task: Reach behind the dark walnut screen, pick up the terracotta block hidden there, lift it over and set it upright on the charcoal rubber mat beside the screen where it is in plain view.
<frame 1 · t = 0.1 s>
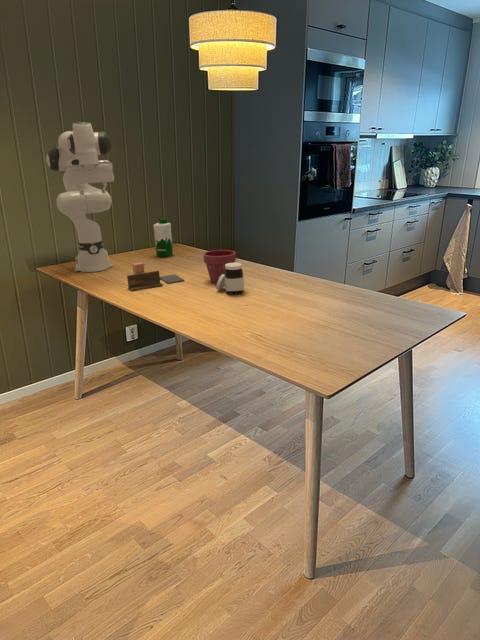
hand: (93, 194, 208), 39 cm above the table, fingers open, 8 cm apart
charcoal mat: (171, 279, 216), on the table
terracotta block: (140, 283, 213), on the table
walnut screen: (144, 286, 207), on the table
spread jar: (230, 292, 196), on the table
milk carton: (164, 256, 263), on the table
plant pot: (221, 281, 212), on the table
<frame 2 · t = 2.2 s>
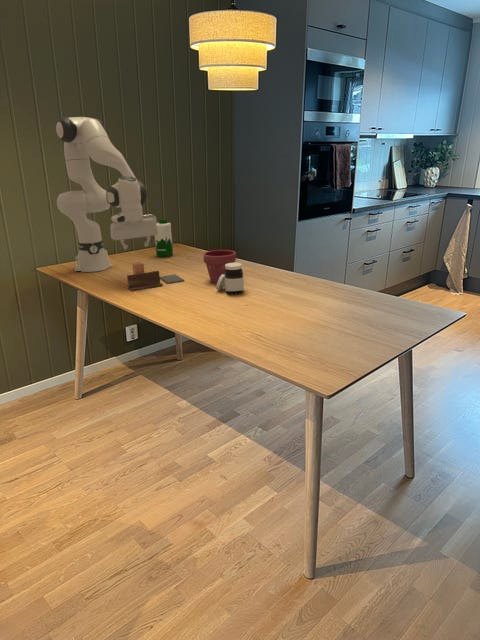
hand: (136, 247, 207), 16 cm above the table, fingers open, 8 cm apart
nothing on the table moved.
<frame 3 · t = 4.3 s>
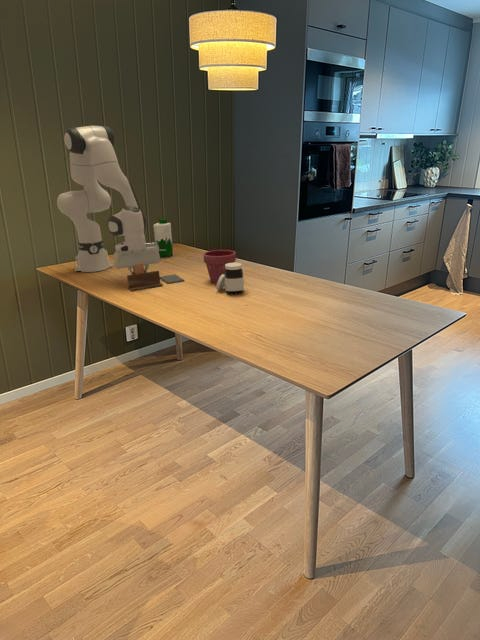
hand: (139, 275, 212), 4 cm above the table, fingers closed on terracotta block, 4 cm apart
terracotta block: (140, 283, 213), on the table, touching gripper
everything else where it was.
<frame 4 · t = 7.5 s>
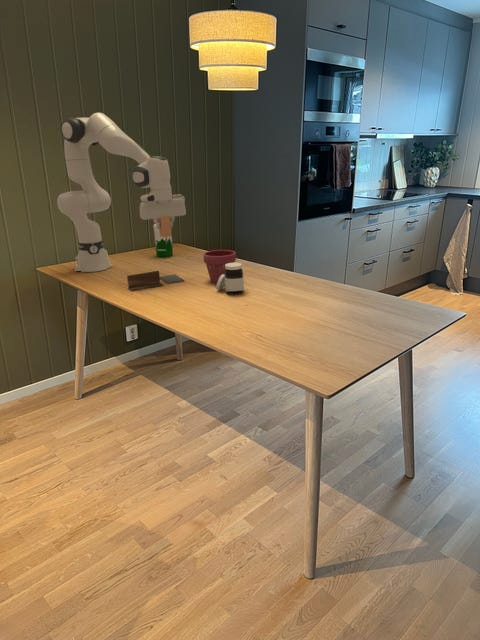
hand: (164, 227, 208), 24 cm above the table, fingers closed on terracotta block, 4 cm apart
terracotta block: (165, 236, 209), point 20 cm above the table, touching gripper
everything else where it was.
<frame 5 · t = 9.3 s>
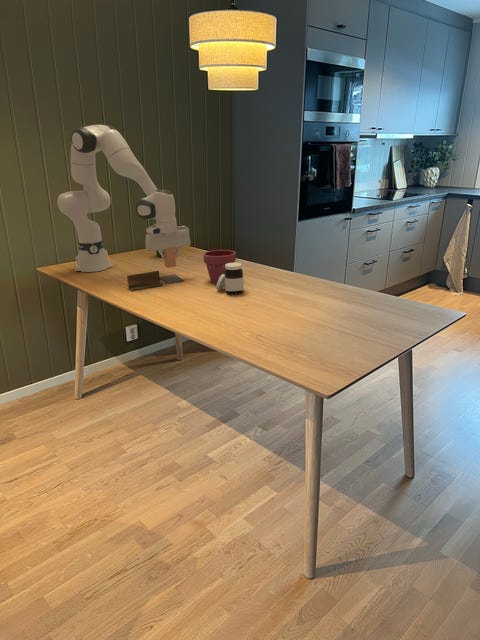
hand: (169, 258, 213), 10 cm above the table, fingers closed on terracotta block, 4 cm apart
terracotta block: (170, 266, 214), point 6 cm above the table, touching gripper
everything else where it was.
when the fingers open (5 cm above the table, at t = 11.0 s): terracotta block stays where it is, resting on charcoal mat.
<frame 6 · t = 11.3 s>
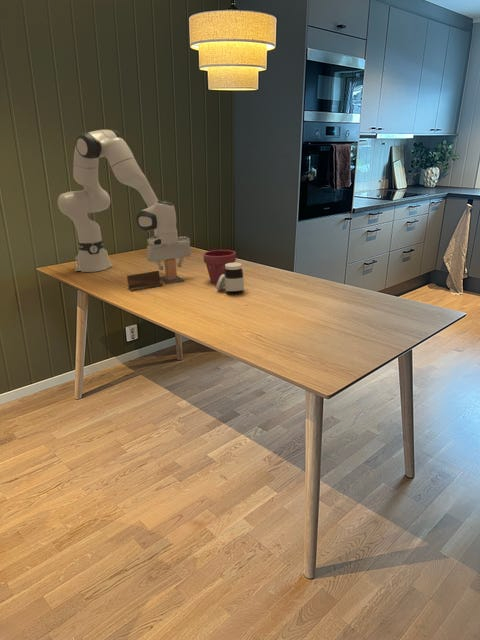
hand: (170, 268, 215), 5 cm above the table, fingers open, 7 cm apart
terracotta block: (171, 278, 216), point 1 cm above the table, touching charcoal mat
everything else where it was.
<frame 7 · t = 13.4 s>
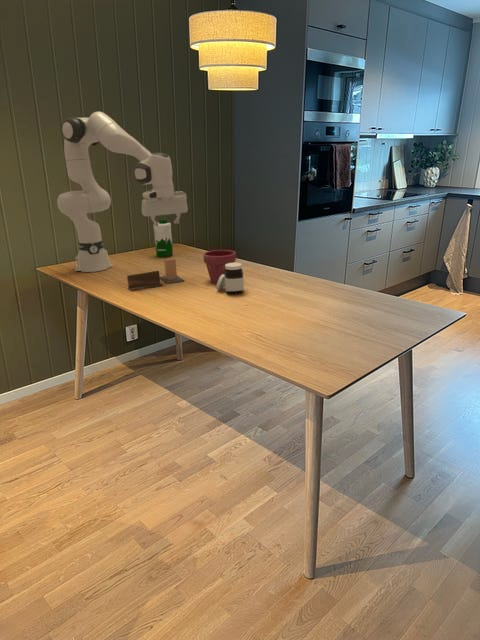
hand: (166, 224, 208), 25 cm above the table, fingers open, 8 cm apart
nothing on the table moved.
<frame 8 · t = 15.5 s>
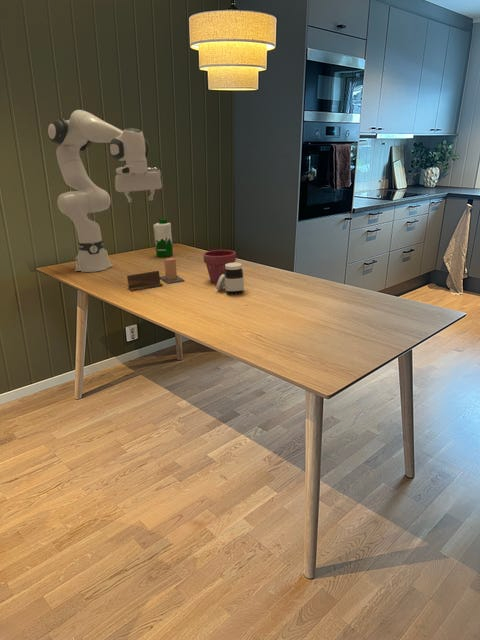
hand: (140, 201, 208), 35 cm above the table, fingers open, 8 cm apart
nothing on the table moved.
at the end: terracotta block inside the target area on the charcoal mat (0.1 cm from its centre), point 0.6 cm above the charcoal mat's base; terracotta block tilted 0°; the gripper is holding nothing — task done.
